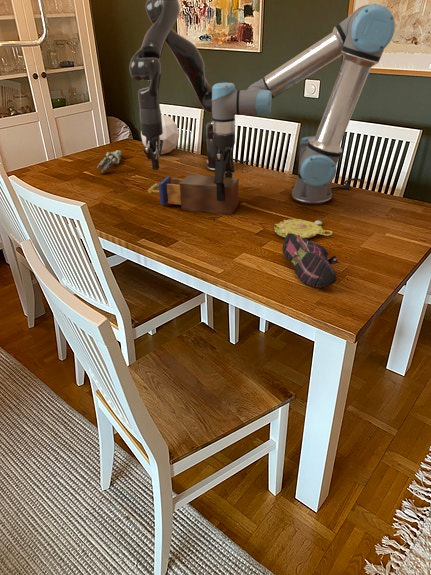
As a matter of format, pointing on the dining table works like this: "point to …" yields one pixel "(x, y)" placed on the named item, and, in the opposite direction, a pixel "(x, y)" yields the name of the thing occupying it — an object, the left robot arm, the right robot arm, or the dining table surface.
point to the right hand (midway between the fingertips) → (224, 195)
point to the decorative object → (300, 228)
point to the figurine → (110, 160)
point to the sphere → (167, 134)
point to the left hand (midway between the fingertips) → (155, 169)
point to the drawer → (168, 190)
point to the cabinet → (208, 195)
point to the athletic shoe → (309, 261)
